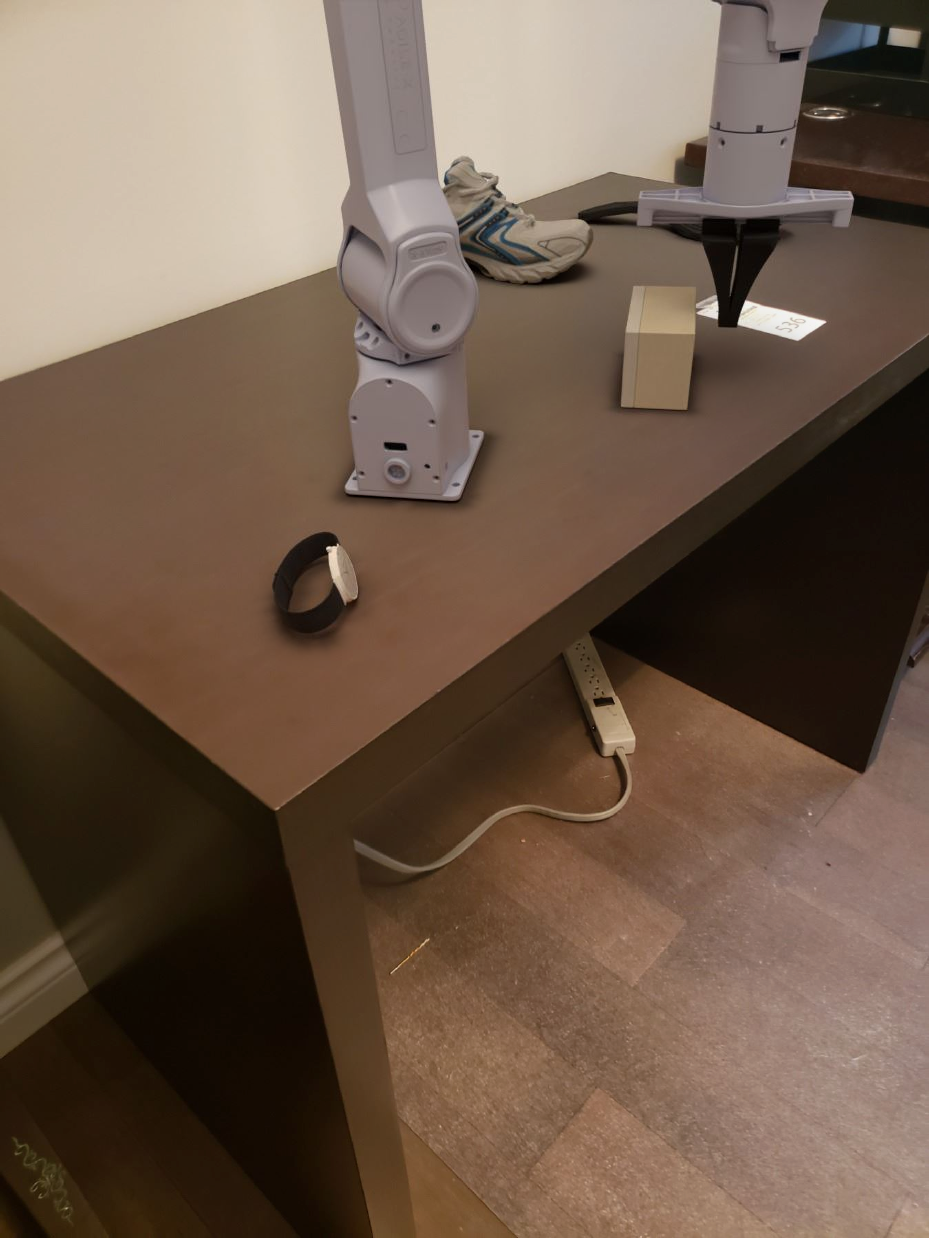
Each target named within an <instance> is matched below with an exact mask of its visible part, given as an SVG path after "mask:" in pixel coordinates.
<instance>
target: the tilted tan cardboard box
mask: <svg viewBox="0 0 929 1238" xmlns="http://www.w3.org/2000/svg"><path fill="white" fill-rule="evenodd" d="M696 318H697V287H696V286H666V285H633V287H632V292H631V298H630V304H629V308H628V315H627V320H626V321H627V322H626V327H625V332H624V346H623V347H624V348H623V362H622V363H623V364H622V378H621V394H620V407H621V408H629V409H631V408H633V409H652V410H675V411H687V410H688V404H689V396H690V395H689V394H690V387H691V377H692V367H693V359H694V350H695V341H696V325H697V324H696V323H697V322H696V321H697V320H696Z"/></svg>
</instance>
